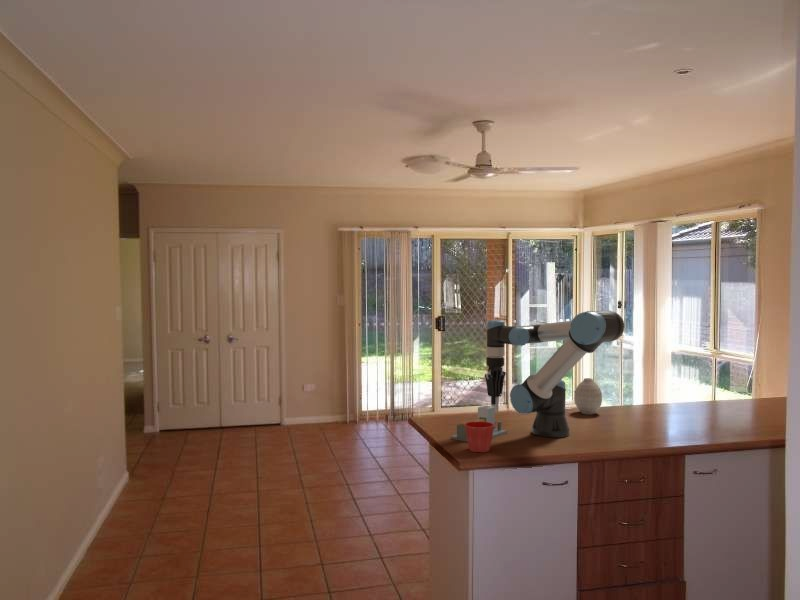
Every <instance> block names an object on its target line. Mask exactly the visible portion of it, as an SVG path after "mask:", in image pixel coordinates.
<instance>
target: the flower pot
mask: <svg viewBox="0 0 800 600" xmlns="http://www.w3.org/2000/svg"><path fill="white" fill-rule="evenodd" d="M474 421H475V420H474ZM465 423H466V424H465V430H466V436H467V441H468V442H467V446H468V449H469V451H471V452H475V453H478V452H479V453H486V452H490V450H491V445H492V441H493V438H492V435H493V429H494V424H492V423H489V422H480V421H475V422H472V421H469V422H465Z"/></svg>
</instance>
